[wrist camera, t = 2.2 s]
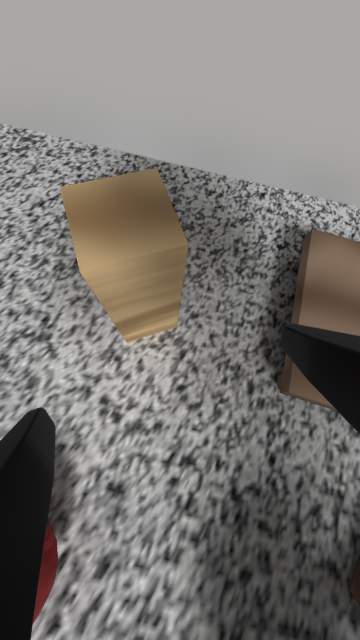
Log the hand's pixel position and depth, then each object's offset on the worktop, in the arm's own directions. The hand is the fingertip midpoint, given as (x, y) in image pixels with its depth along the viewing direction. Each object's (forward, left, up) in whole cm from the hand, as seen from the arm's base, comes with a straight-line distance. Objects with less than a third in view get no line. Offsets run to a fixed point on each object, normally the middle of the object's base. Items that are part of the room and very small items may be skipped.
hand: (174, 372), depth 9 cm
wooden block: (+6, -4, -13) cm, 16 cm away
